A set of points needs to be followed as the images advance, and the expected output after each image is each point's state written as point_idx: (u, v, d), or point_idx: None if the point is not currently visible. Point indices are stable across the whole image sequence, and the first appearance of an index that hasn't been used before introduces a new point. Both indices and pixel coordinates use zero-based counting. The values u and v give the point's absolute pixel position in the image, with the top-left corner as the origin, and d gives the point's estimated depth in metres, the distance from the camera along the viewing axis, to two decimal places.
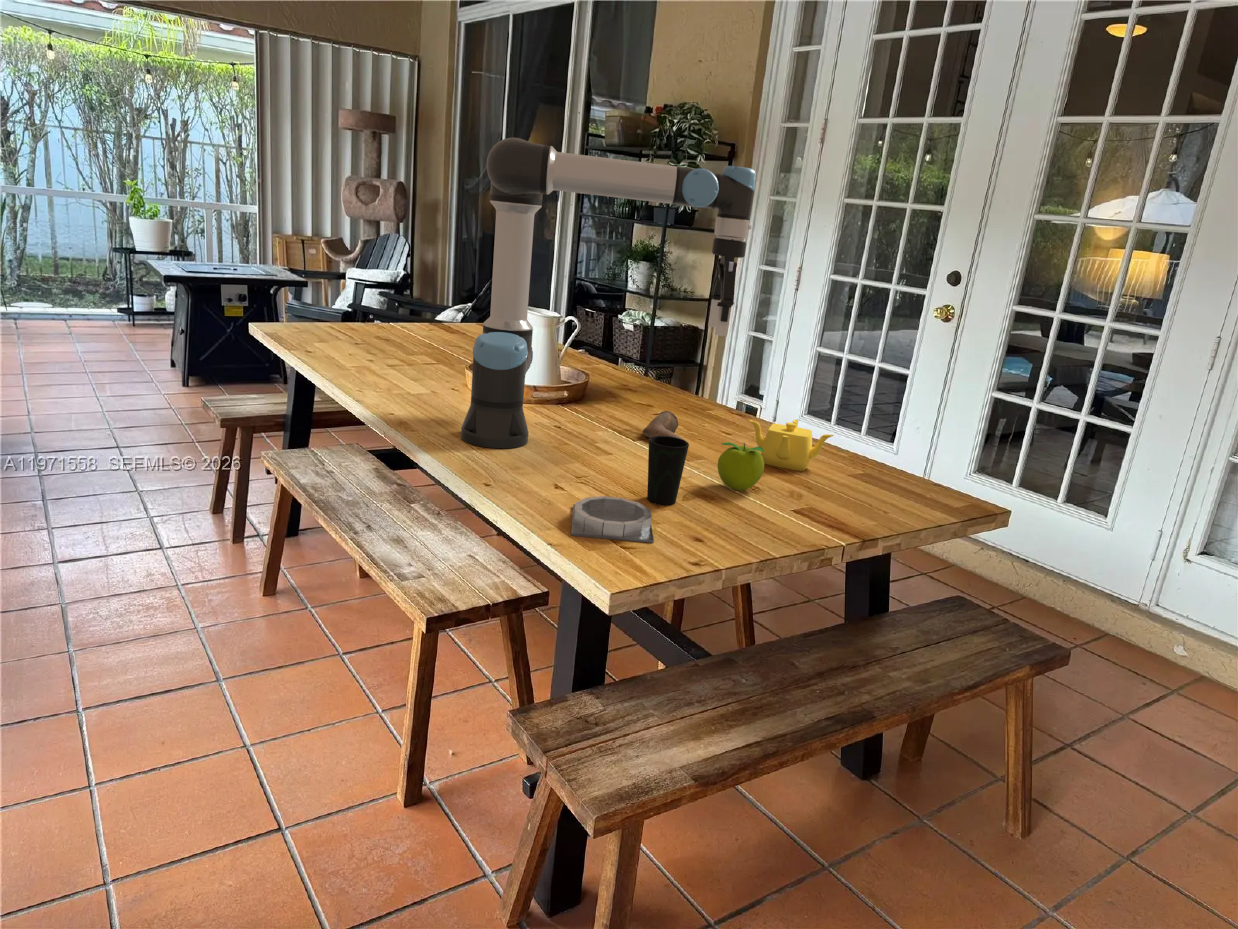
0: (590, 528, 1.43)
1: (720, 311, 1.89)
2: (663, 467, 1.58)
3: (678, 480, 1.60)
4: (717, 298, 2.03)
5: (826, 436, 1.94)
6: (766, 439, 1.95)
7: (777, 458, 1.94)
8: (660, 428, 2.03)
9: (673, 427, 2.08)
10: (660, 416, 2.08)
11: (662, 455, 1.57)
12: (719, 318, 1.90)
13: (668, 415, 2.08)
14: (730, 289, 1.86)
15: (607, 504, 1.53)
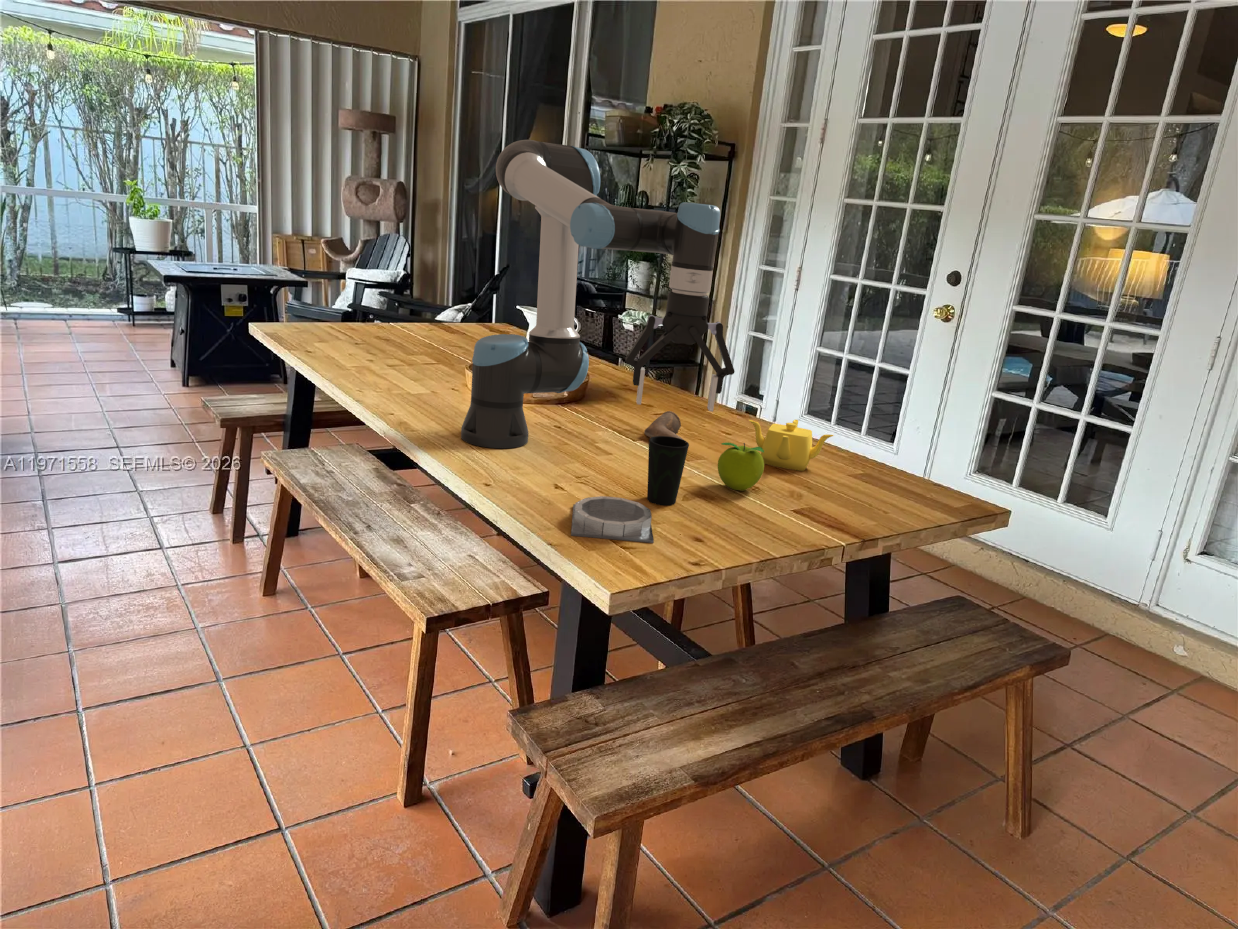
0: (590, 528, 1.43)
1: None
2: (663, 467, 1.58)
3: (678, 480, 1.60)
4: (716, 374, 1.57)
5: (826, 436, 1.94)
6: (766, 439, 1.95)
7: (777, 458, 1.94)
8: (661, 428, 2.03)
9: (675, 428, 2.08)
10: (662, 416, 2.08)
11: (662, 455, 1.57)
12: None
13: (671, 416, 2.08)
14: (634, 345, 1.54)
15: (607, 504, 1.53)
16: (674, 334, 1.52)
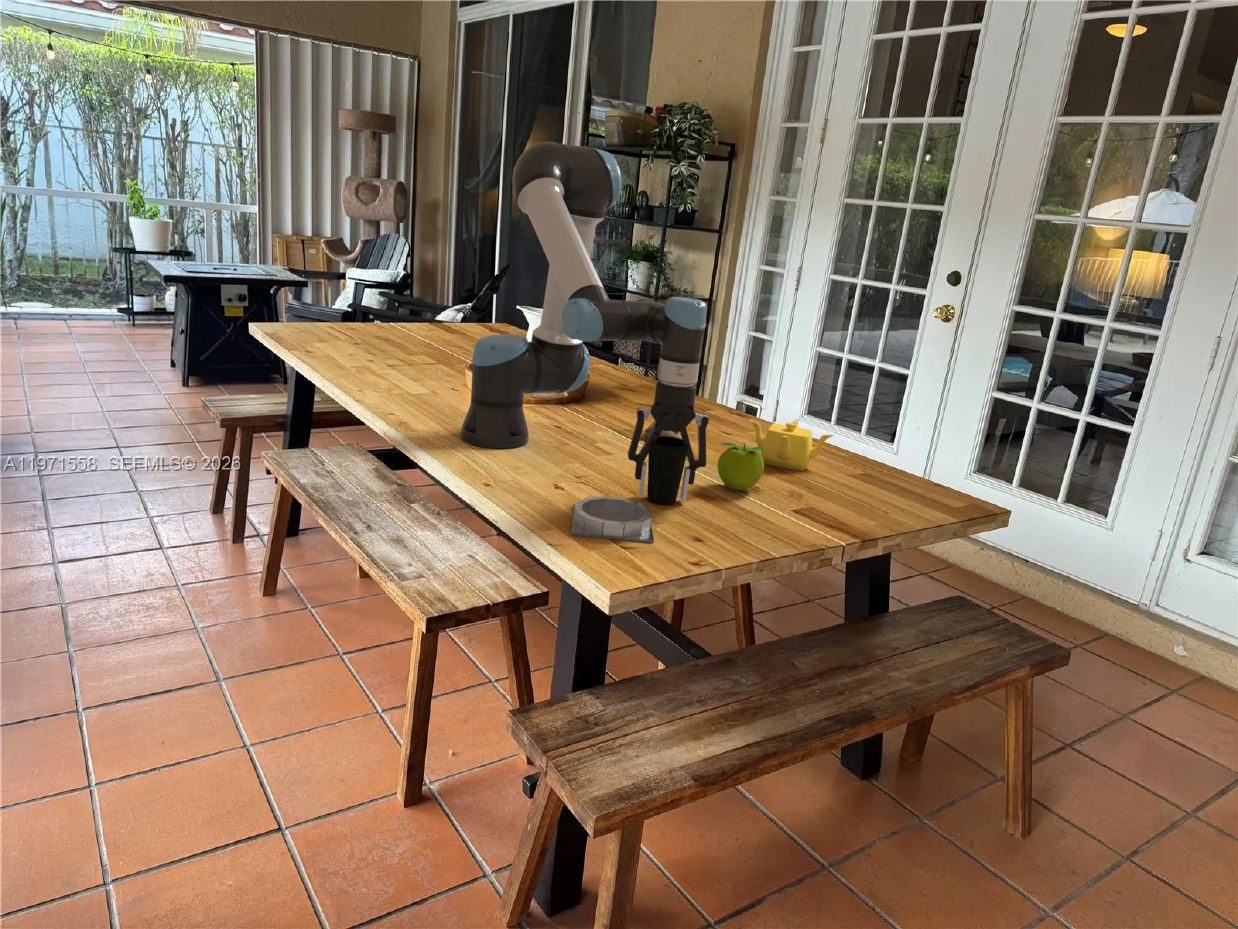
0: (590, 528, 1.43)
1: None
2: (663, 467, 1.58)
3: (678, 480, 1.60)
4: (689, 466, 1.62)
5: (826, 436, 1.94)
6: (766, 439, 1.95)
7: (777, 458, 1.94)
8: None
9: None
10: None
11: (662, 455, 1.57)
12: None
13: None
14: (632, 441, 1.59)
15: (607, 504, 1.53)
16: (664, 423, 1.57)
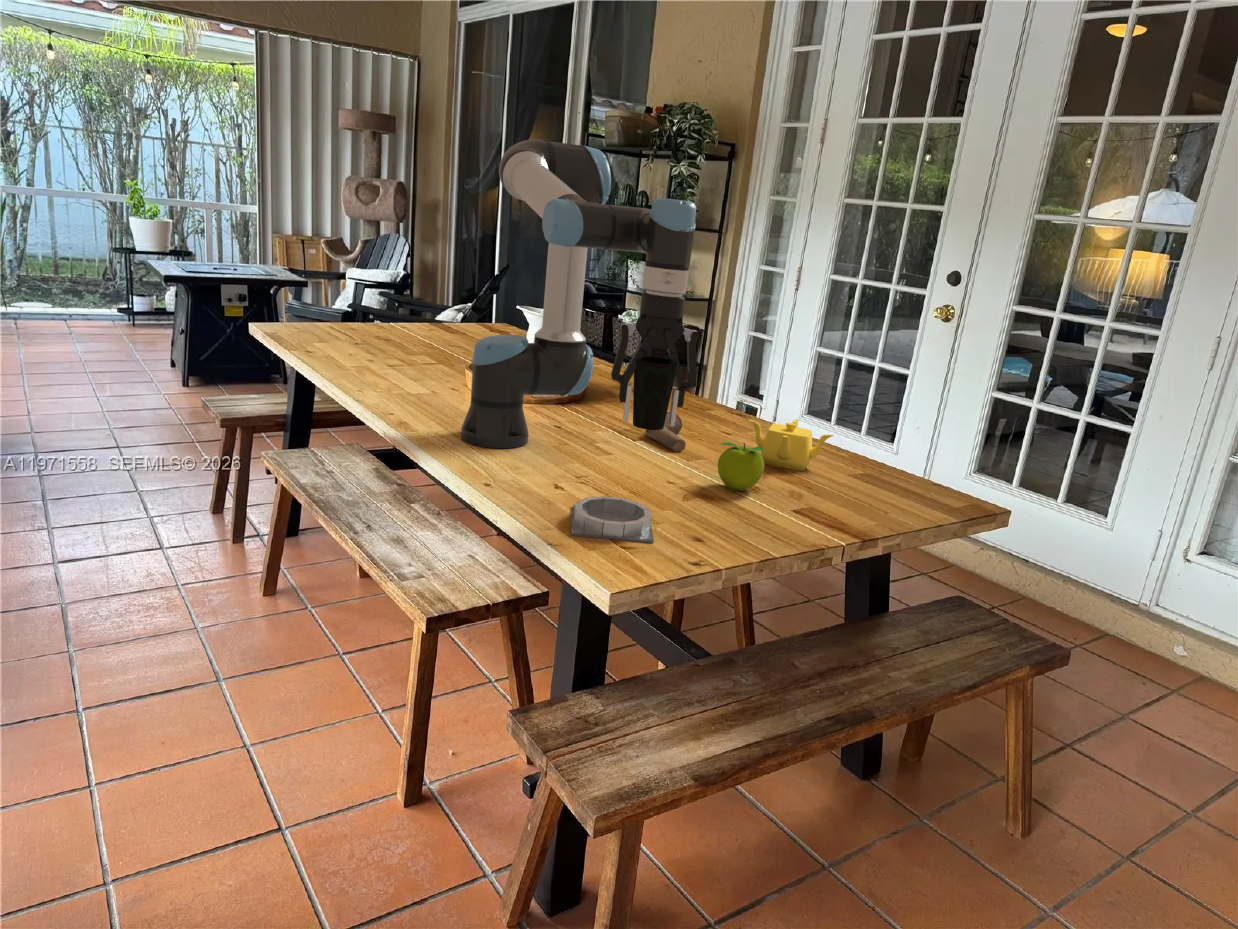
0: (590, 528, 1.43)
1: None
2: (650, 386, 1.45)
3: (666, 402, 1.47)
4: (678, 387, 1.49)
5: (826, 436, 1.94)
6: (766, 439, 1.95)
7: (777, 458, 1.94)
8: None
9: (676, 428, 2.08)
10: None
11: (649, 373, 1.44)
12: None
13: None
14: (615, 359, 1.46)
15: (607, 504, 1.53)
16: (650, 339, 1.44)
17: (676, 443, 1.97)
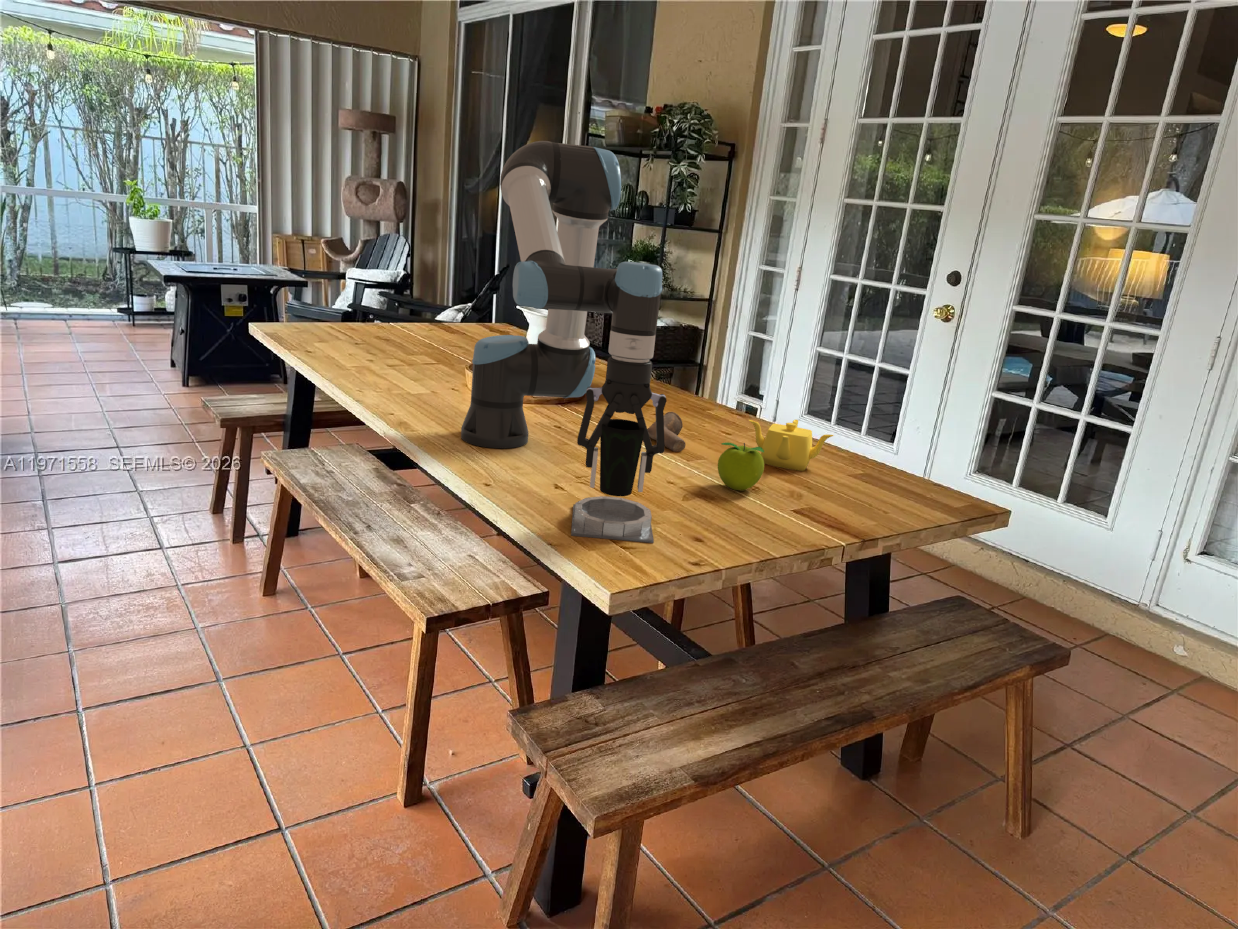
0: (590, 528, 1.43)
1: None
2: (616, 453, 1.41)
3: (633, 468, 1.43)
4: (646, 452, 1.45)
5: (826, 436, 1.94)
6: (766, 439, 1.95)
7: (777, 458, 1.94)
8: None
9: (677, 428, 2.07)
10: (664, 417, 2.07)
11: (614, 439, 1.40)
12: None
13: (672, 416, 2.08)
14: (581, 424, 1.43)
15: (607, 504, 1.53)
16: (616, 404, 1.40)
17: (676, 443, 1.97)
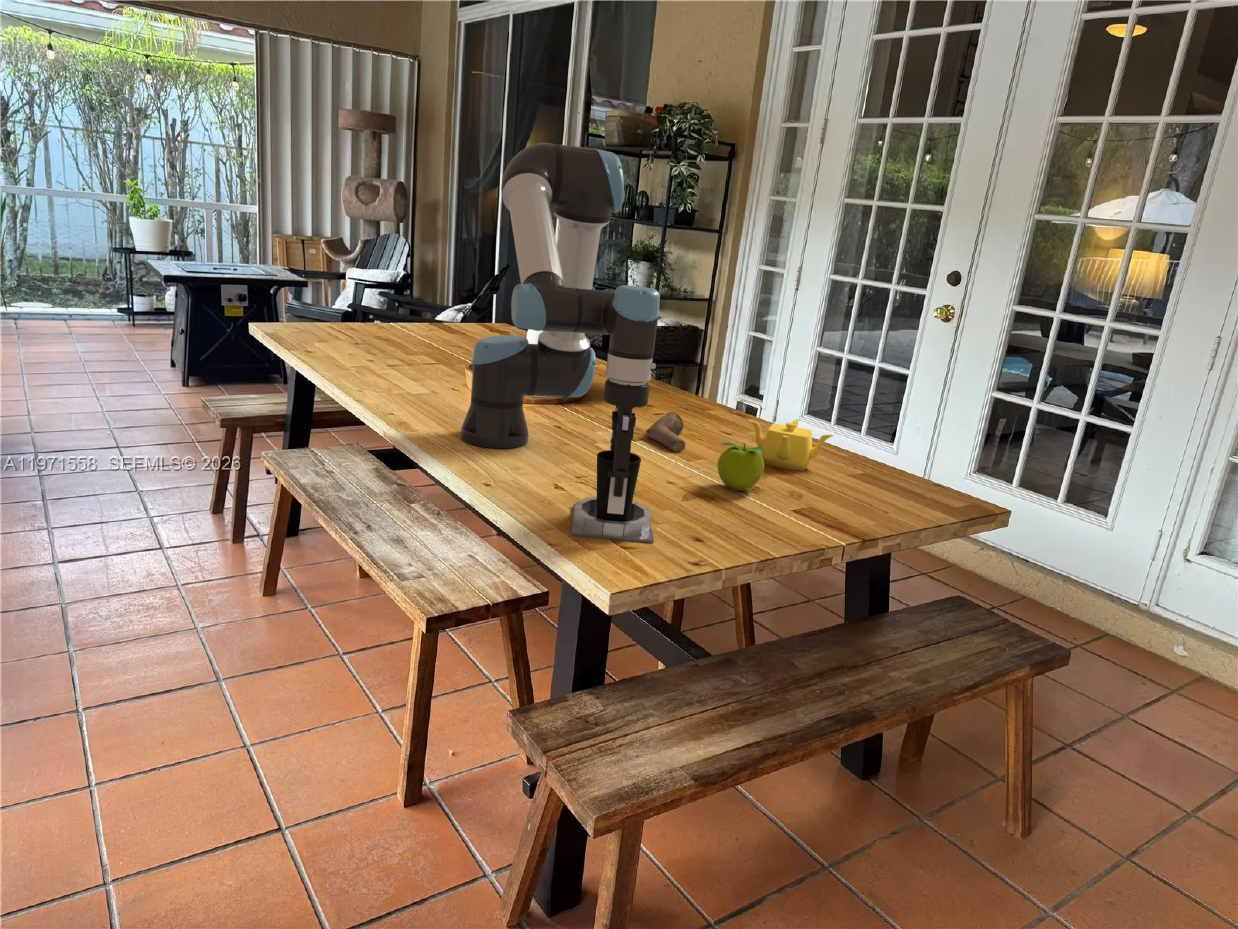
0: (590, 528, 1.43)
1: (613, 482, 1.39)
2: (635, 482, 1.46)
3: None
4: None
5: (826, 436, 1.94)
6: (766, 439, 1.95)
7: (777, 458, 1.94)
8: (662, 429, 2.03)
9: (677, 429, 2.07)
10: (665, 417, 2.07)
11: (637, 470, 1.45)
12: (612, 491, 1.39)
13: (673, 416, 2.08)
14: (624, 456, 1.36)
15: None
16: (633, 427, 1.42)
17: (676, 444, 1.97)
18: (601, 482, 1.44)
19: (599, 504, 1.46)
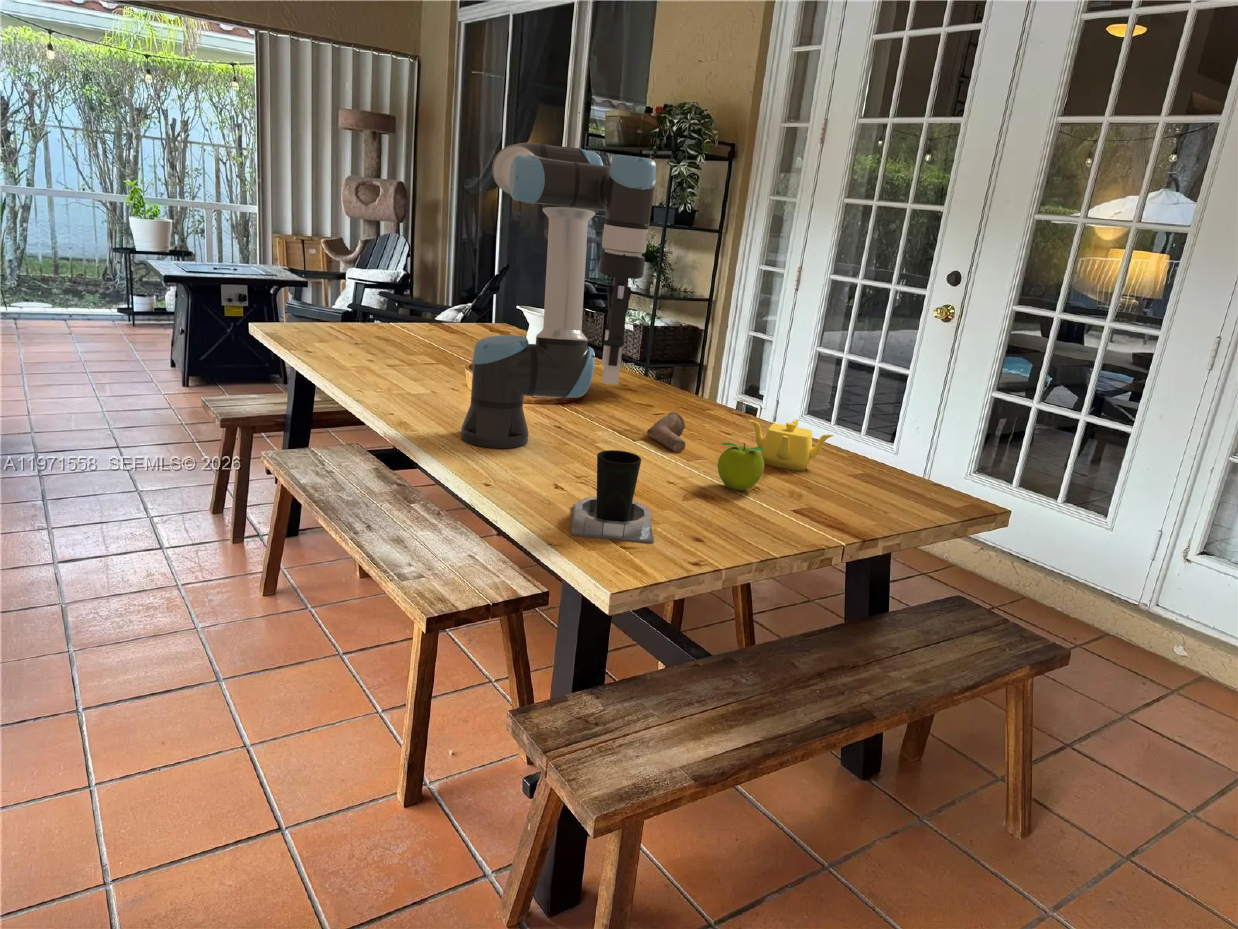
0: (590, 528, 1.43)
1: (608, 352, 1.41)
2: None
3: None
4: None
5: (826, 436, 1.94)
6: (766, 439, 1.95)
7: (777, 458, 1.94)
8: (663, 429, 2.03)
9: (678, 429, 2.07)
10: (666, 417, 2.07)
11: (638, 471, 1.45)
12: (607, 361, 1.41)
13: (674, 417, 2.07)
14: (619, 323, 1.38)
15: None
16: (628, 300, 1.43)
17: (676, 444, 1.96)
18: (601, 482, 1.44)
19: (599, 504, 1.46)
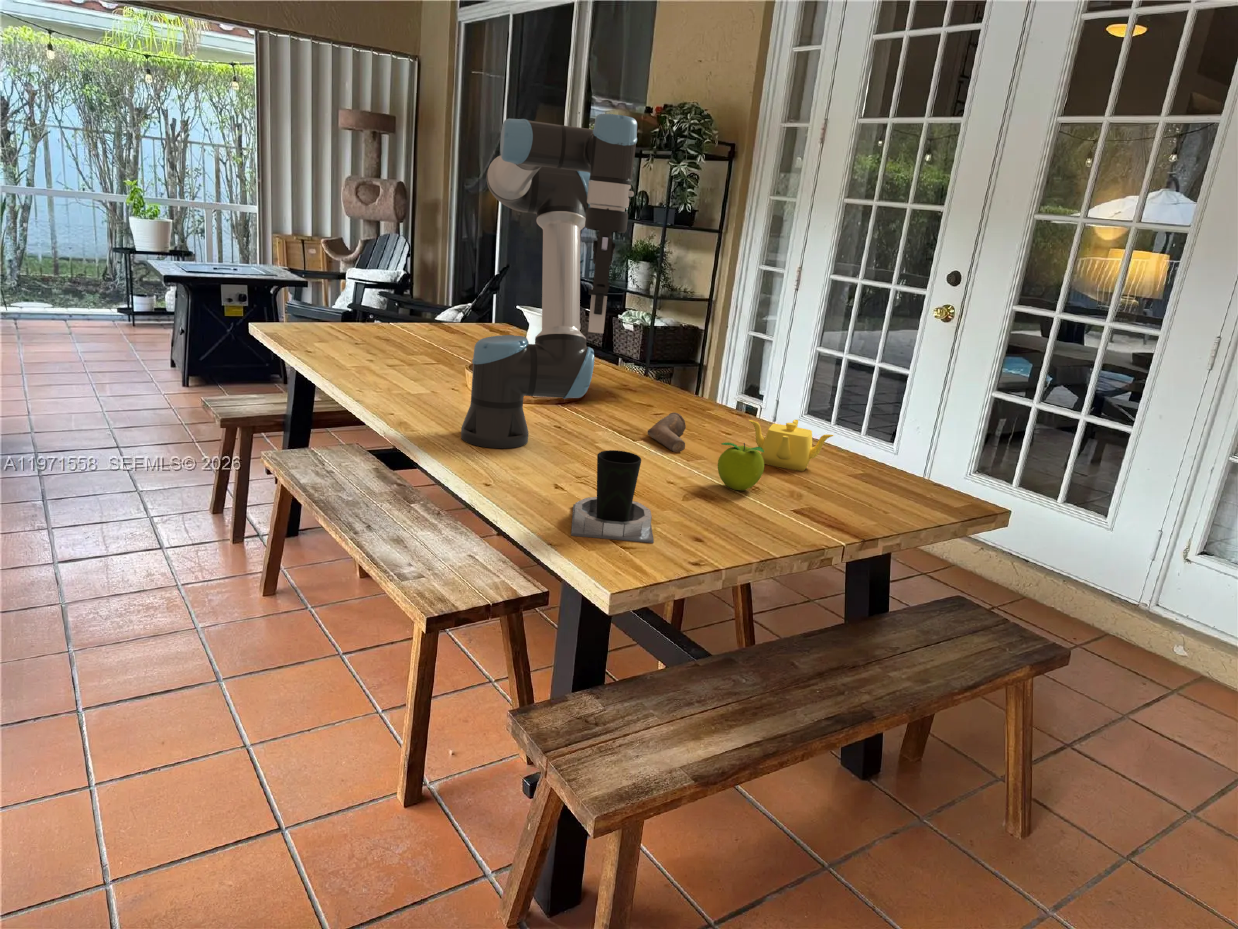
0: (590, 528, 1.43)
1: (593, 301, 1.48)
2: None
3: None
4: None
5: (826, 436, 1.94)
6: (766, 439, 1.95)
7: (777, 458, 1.94)
8: (663, 429, 2.02)
9: (679, 429, 2.07)
10: (666, 417, 2.07)
11: (638, 471, 1.45)
12: (592, 310, 1.48)
13: (675, 417, 2.07)
14: (603, 272, 1.45)
15: None
16: (613, 253, 1.50)
17: (675, 444, 1.96)
18: (601, 482, 1.44)
19: (599, 504, 1.46)
